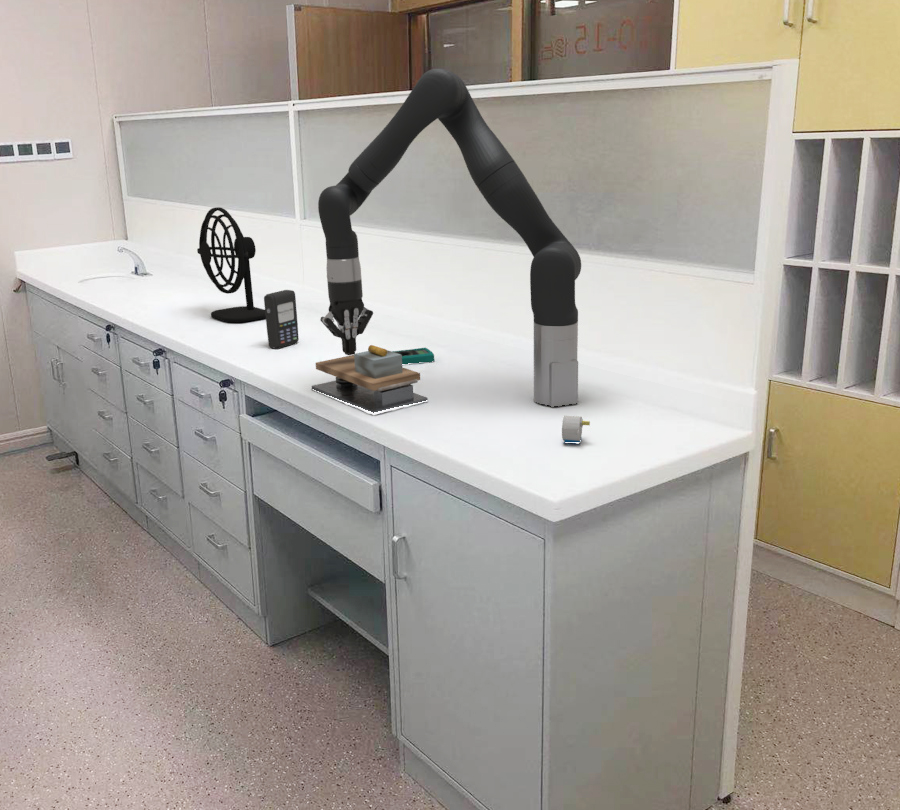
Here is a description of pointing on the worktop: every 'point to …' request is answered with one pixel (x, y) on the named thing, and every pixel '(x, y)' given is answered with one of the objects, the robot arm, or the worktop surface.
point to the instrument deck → (360, 379)
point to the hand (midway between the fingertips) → (349, 354)
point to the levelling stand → (369, 395)
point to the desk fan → (243, 252)
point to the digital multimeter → (416, 355)
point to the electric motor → (572, 428)
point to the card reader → (281, 318)
